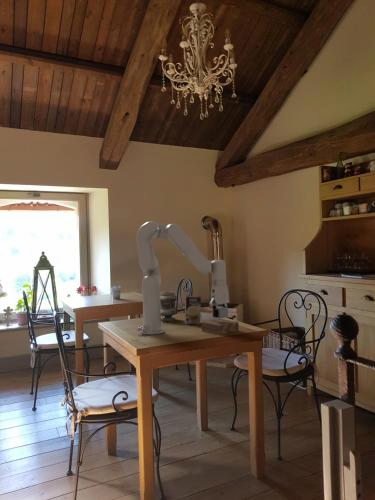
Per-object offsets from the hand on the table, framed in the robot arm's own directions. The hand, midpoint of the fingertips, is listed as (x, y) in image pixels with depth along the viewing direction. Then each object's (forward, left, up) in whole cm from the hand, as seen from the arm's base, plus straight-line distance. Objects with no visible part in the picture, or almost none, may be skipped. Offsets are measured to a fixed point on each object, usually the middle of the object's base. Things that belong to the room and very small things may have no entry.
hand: (220, 315), depth 209 cm
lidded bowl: (+10, +16, -8) cm, 21 cm away
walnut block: (0, 0, -9) cm, 9 cm away
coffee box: (+4, +26, -8) cm, 27 cm away
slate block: (0, 0, -1) cm, 1 cm away
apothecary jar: (+2, +45, -8) cm, 46 cm away
